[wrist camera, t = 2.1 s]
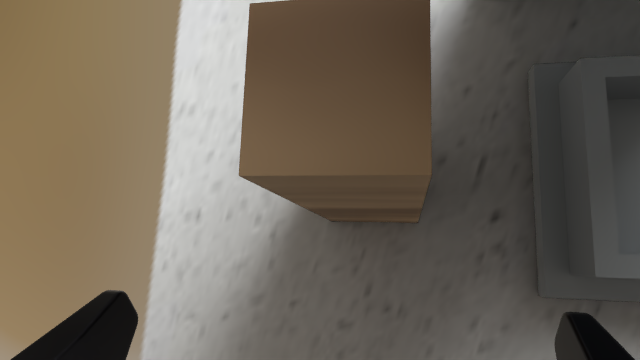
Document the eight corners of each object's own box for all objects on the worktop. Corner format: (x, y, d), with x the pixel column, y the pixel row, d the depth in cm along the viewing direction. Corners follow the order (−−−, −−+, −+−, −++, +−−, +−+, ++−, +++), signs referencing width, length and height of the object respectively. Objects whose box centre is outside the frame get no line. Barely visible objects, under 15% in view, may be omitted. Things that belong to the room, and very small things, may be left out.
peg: (417, 222, 20) (431, 175, 9) (331, 221, 21) (238, 175, 9) (417, 138, 21) (429, -11, 9) (334, 139, 22) (249, 3, 10)
